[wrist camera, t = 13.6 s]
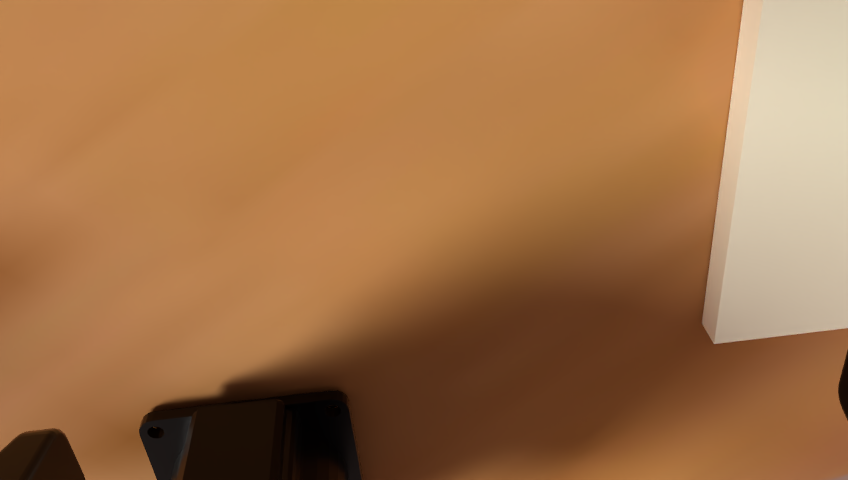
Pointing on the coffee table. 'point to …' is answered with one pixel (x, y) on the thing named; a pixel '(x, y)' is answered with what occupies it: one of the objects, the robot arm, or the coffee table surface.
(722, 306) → the neck block
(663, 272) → the coffee table surface
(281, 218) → the coffee table surface
